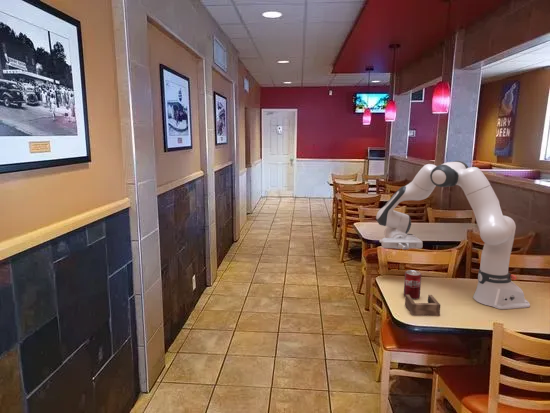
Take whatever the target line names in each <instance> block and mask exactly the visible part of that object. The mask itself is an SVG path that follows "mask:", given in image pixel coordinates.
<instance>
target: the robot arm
mask: <svg viewBox="0 0 550 413" xmlns="http://www.w3.org/2000/svg"><path fill="white" fill-rule="evenodd" d="M455 186H458V187H460V188H461V190H462V191H463V193H464V196H465V197H466V199H467V201H468V204H469V205H470V208H471V209H472V211H473V214H474V216H475V221H476V224H477V227H478V231H479V236H480V238H481V240H482V241H483V247H482V251H481V255H480V266H479V269H478V275H477V285H476V289H475V292H474V294H473V296H472V299H474V300H475V301H476V302H477V303H480V304H482V305H485V306H487V307H488V306H490V307H492V308H496V309H498V310H511V309H522V308H523V309H524V308H530V307H531V306H530V305H531V304H530V302H529V301H528V300H527V299H526V298H525V293H524V291H523V289H522V288H521V287H520V286H519V285H517V284H516V283H515V282H514V281H516V280H517V275H515V274H512V273H510V272H509V268H510V258H511V254H512V250H513V245H514V241H515V240H514V239H515V235H516V228H517V225H516V222H515V221H514V219H513V218H512V217H510V216H507V215H504V214H503V212H502V207H501V206H500V200H499V198H498V196H497V194H496V192H495V190H494V188H493V187H492V185H491V182H490V181H489V179H488V178H487V177H486V175H485V173H484V172H483V171H482V169H480V168H479V167H477V166H476V167H475V166H471V167H469V166H468V164H467V163H465V162H464V161H459V160H454V161H447V162H444V163H441V164H439V165H436V164H432V163H427V164H424V165H423V166H422V167H421V168H420V170H419V171H418V172H417V173H416V174H415V176H414V177H413V179H412V180H411V181H410V182H409V183H407V184H406V185H402V186H401V187H399V188H398V190H397V191H396V192H395V193H393V195H391V197H390V198H389V200H388V201H387V202H386V203H385V204H384V205H383V206H382V207H381V208H379V210H378V211H377V213H376V215H375V219H376V221H377V223H378V225H380V226H383V227H386V228H385V230H384V232H383V233H384V234H383V235H384V237H383V238H381V239H379V243H381V247H382V248H384V249H395V250H401V249H402V250H410V249H422V248H423V245H424V244H423V240H422V239H420V238H419V237H417V236H416V235H415V234H412V233H409V232H410V230H411V226H412V219H411V217H410V215H409V214H407V213H404V212H400V211H397V210H394V209H396V207H397V206H398V205H399V204H400V203H401V202H405V201H422V200H425V199H427V198H429V197H430V195H432V193H433V191H434V190H435V188H436V187H438V188H448V187H455ZM512 280H513V281H512Z"/></svg>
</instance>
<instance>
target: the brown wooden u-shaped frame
mask: <svg viewBox="0 0 550 413" xmlns="http://www.w3.org/2000/svg"><path fill="white" fill-rule="evenodd" d="M404 306H405V307H406V308H405V309H407V311H408V312H409V314H410V315H411V316H416V317H417V316H422V317H423V316H424V317H425V316H427V317H431V316H432V317H433V316H435V317H440V315H441V303H440V302H439V301H438V300H437V299H436V298H435V297H434V296H433V295H432V294H428V296H427V302H415V301H414V300H413V299H412V298H411V297H410V295H405V296H404Z"/></svg>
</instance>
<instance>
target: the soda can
mask: <svg viewBox="0 0 550 413" xmlns="http://www.w3.org/2000/svg"><path fill="white" fill-rule="evenodd" d="M403 284H404V285H403V296H404V297H405V295H410V297H411V298H412V299H413V301H414V300H418V299H420V298H421V288H422V286H421V284H422V273H421V272H420V271H419V270H412V269H409V270H406V271H405V272H404V282H403Z"/></svg>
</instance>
